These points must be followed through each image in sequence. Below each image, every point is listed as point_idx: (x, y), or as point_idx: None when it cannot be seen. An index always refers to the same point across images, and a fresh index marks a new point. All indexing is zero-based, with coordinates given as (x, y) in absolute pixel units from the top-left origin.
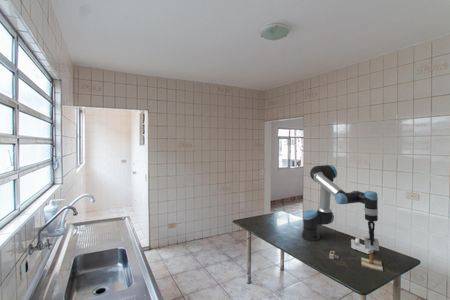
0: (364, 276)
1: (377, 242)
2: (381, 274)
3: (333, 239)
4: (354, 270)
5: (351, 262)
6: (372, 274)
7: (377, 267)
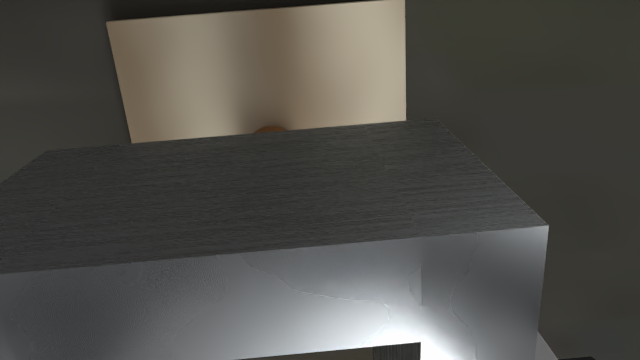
0: (635, 201)
1: (433, 283)
2: (508, 15)
3: None
4: None
5: (342, 351)
6: (553, 122)
7: (369, 71)
